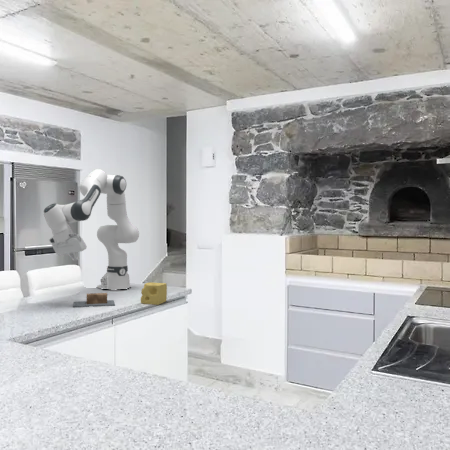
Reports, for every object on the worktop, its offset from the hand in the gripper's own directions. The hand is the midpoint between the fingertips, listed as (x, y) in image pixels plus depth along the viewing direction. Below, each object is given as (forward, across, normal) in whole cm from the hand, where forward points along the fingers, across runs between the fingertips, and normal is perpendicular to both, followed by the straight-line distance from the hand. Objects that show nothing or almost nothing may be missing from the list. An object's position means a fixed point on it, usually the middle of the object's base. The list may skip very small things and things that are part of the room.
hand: (76, 259), depth 232 cm
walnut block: (+19, -2, +6) cm, 20 cm away
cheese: (+36, -24, -13) cm, 45 cm away
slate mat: (+23, -4, +5) cm, 24 cm away
